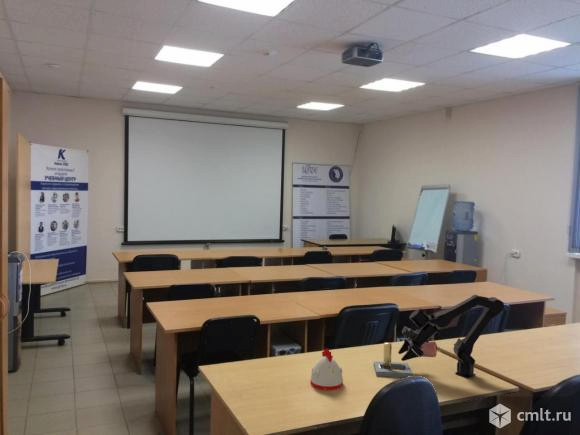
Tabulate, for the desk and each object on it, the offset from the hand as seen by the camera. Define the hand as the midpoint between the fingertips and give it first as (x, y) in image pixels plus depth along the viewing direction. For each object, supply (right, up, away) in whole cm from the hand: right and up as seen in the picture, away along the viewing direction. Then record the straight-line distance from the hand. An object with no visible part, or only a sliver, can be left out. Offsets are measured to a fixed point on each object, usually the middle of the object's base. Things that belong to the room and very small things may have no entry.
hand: (400, 356), depth 209 cm
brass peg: (-6, -7, +1) cm, 9 cm away
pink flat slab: (+22, -7, +34) cm, 41 cm away
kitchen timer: (-35, -7, -15) cm, 39 cm away
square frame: (-4, -7, +1) cm, 8 cm away
